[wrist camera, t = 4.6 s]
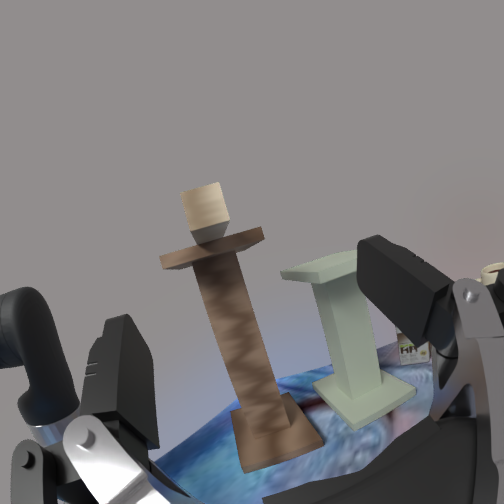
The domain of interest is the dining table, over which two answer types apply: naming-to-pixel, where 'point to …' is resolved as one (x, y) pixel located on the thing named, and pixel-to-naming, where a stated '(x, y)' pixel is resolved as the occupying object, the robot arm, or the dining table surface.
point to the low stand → (349, 343)
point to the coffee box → (412, 350)
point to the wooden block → (206, 212)
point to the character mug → (490, 273)
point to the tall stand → (246, 355)
